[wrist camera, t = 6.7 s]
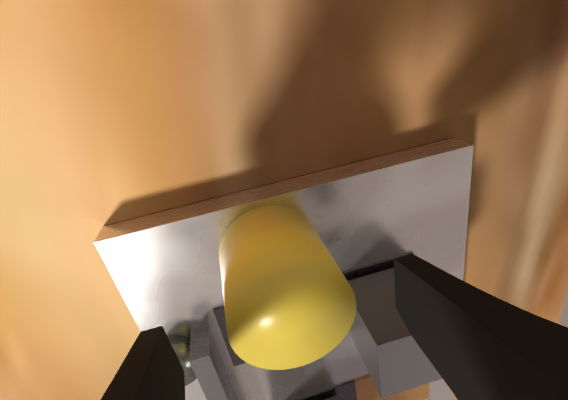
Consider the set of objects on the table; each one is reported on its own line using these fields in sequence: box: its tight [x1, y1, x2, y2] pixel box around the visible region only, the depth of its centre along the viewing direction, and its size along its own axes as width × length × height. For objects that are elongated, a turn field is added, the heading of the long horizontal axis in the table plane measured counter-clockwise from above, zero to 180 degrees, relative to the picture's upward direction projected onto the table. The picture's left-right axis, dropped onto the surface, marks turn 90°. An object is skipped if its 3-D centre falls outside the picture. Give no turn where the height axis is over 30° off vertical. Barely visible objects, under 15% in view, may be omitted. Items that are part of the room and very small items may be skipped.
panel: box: [94, 138, 474, 400], centre depth 17 cm, size 18×15×3 cm
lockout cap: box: [219, 205, 356, 370], centre depth 12 cm, size 4×4×4 cm
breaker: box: [348, 268, 443, 399], centre depth 14 cm, size 3×4×4 cm
